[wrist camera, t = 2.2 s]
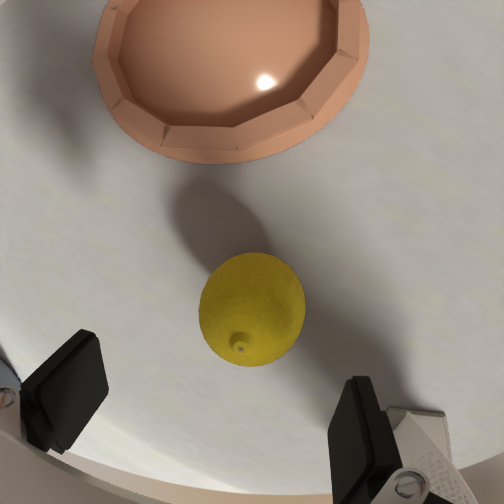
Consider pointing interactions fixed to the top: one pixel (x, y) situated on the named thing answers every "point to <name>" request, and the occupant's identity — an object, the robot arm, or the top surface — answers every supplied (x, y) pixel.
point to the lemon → (252, 309)
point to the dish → (228, 72)
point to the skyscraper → (429, 451)
